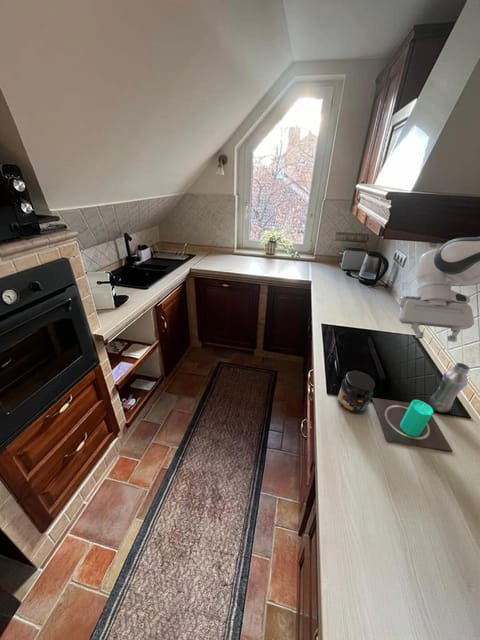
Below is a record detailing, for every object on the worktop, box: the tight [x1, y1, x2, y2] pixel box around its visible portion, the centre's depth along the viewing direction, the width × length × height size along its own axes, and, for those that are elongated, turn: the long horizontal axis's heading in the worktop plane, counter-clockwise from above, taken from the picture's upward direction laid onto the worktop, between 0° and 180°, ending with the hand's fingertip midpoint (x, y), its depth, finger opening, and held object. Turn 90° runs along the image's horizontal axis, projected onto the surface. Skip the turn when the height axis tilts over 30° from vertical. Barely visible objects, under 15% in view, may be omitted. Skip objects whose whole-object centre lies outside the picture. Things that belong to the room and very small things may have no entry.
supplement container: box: [337, 370, 376, 415], centre depth 91 cm, size 10×10×12 cm
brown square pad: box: [371, 397, 453, 453], centre depth 87 cm, size 19×18×1 cm
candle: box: [400, 399, 434, 436], centre depth 81 cm, size 6×6×12 cm
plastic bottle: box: [428, 362, 471, 414], centre depth 88 cm, size 6×7×20 cm
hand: (435, 339), depth 79 cm, fingers open, 8 cm apart
